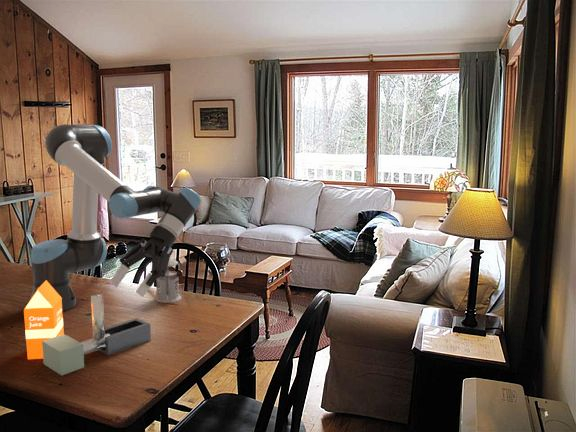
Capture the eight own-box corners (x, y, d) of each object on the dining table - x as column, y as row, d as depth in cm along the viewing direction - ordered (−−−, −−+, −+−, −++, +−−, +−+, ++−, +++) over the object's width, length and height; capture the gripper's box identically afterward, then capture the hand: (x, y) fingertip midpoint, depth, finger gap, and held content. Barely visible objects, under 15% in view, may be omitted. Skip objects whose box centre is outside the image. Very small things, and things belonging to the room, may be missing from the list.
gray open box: (136, 333, 158) (136, 318, 157) (150, 340, 153) (150, 323, 152) (94, 348, 147) (93, 331, 146) (108, 355, 142) (107, 338, 141)
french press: (182, 293, 197) (180, 230, 193) (180, 303, 185) (179, 237, 181) (156, 294, 195) (153, 231, 191) (153, 304, 184) (151, 237, 180)
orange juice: (27, 359, 140) (21, 290, 136) (37, 346, 148) (32, 280, 145) (57, 357, 141) (52, 288, 137) (65, 344, 149) (61, 279, 146)
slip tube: (105, 343, 147) (103, 291, 145) (112, 347, 145) (110, 294, 143) (58, 360, 137) (55, 304, 134) (65, 363, 135) (61, 307, 132)
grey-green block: (65, 356, 142) (64, 334, 141) (84, 367, 135) (82, 344, 134) (43, 364, 137) (41, 341, 136) (61, 375, 131) (60, 351, 130)
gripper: (199, 244, 151) (159, 305, 143) (150, 233, 167) (111, 287, 158) (185, 230, 147) (142, 292, 138) (135, 219, 162) (94, 274, 153)
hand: (125, 289), depth 148 cm, fingers open, 13 cm apart
